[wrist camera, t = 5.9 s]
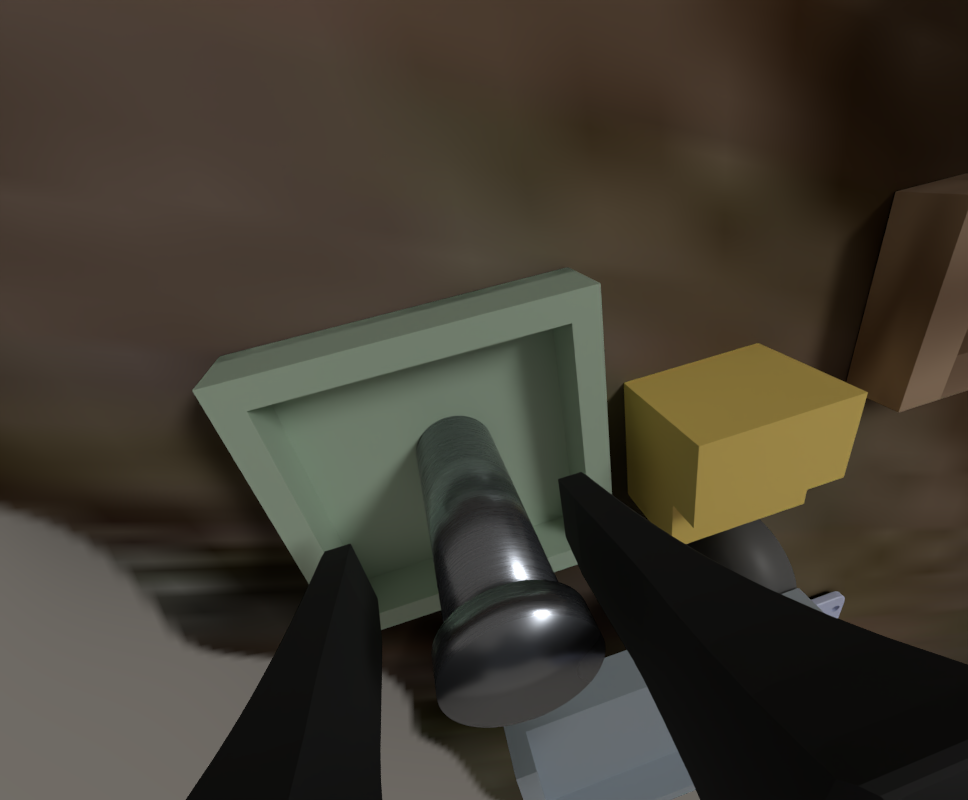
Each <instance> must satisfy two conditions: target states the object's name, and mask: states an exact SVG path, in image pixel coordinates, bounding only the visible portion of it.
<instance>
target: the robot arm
mask: <svg viewBox="0 0 968 800" xmlns="http://www.w3.org/2000/svg"><path fill="white" fill-rule="evenodd" d="M558 483H559V491H560V498H561V506H562V513H563V521H564V528H565V535H566V539H567V541H568V543H569V546H570V548H571V550H572V552H573V555H574V557H575V559H576V561H577V564H578V566H579V568H580V570H581V572H582V574H583V576H584V578H585V580H586V581H587V583H588V585H589V587H590V588H591V590H592V592H593V593H594V595H595V597H596V598H597V600H598V602H599V604H600V605H601V607H602V609H603V610H604V612H605V614H606V615H607V617H608V619H609V620H610V622H611V624H612V625H613V627H614V629H615V631H616V632H617V634H618V636H619V637H620V639H621V641H622V642H623V644H624V646H625V647H626V649H627V651H628V652H629V654H630V656H631V657H632V659H633V661H634V663H635V665H636V666H637V668H638V670H639V672H640V674H641V676H642V677H643V679H644V681H645V683H646V685H647V687H648V690H649V692H650V694H651V696H652V698H653V700H654V702H655V704H656V706H657V708H658V710H659V712H660V714H661V716H662V718H663V721H664V723H665V725H666V727H667V729H668V731H669V733H670V735H671V737H672V740H673V742H674V744H675V746H676V748H677V750H678V752H679V754H680V757H681V759H682V761H683V763H684V765H685V767H686V769H687V771H688V774H689V776H690V778H691V780H692V782H693V785H694V787H695V789H696V791H697V793H698V796H699V798H700V800H968V665H967V664H964V663H961V662H958V661H955V660H952V659H949V658H946V657H944V656H941V655H938V654H935V653H932V652H929V651H926V650H923V649H920V648H917V647H914V646H911V645H908V644H905V643H902V642H899V641H896V640H893V639H890V638H887V637H885V636H882V635H879V634H876V633H874V632H871V631H869V630H866V629H863V628H861V627H858V626H856V625H853V624H850V623H848V622H845V621H843V620H840V619H838V617H839V614H840V612H841V609H842V606H843V603H844V600H845V597H844V596H843V595H841V594H840V593H839V592H837V591H834V592H830V593H828V594H825V595H822V596H820V597H817V598H814V599H811V600H812V601H813V602H814V603H815V604H816V605H817V606H818V607H819V608H820V609H821V610H822V611H823V612H824V613H823V612H821V611H818V610H816V609H814V608H811V607H809V606H807V605H805V604H802V603H800V602H798V601H795V600H793V599H791V598H789V597H786V596H784V595H782V594H779V593H777V592H775V591H773V590H770V589H768V588H766V587H764V586H762V585H760V584H758V583H756V582H754V581H752V580H750V579H748V578H746V577H744V576H742V575H740V574H738V573H736V572H734V571H732V570H730V569H728V568H727V567H725V566H723V565H721V564H719V563H717V562H715V561H714V560H712V559H710V558H708V557H706V556H705V555H703V554H701V553H699V552H698V551H696V550H694V549H693V548H691V547H689V546H688V545H686V544H684V543H683V542H681V541H679V540H678V539H676V538H675V537H673V536H671V535H670V534H668V533H667V532H665V531H664V530H662V529H660V528H659V527H657V526H656V525H654V524H653V523H651V522H650V521H649V520H647V519H646V518H644V517H643V516H641V515H640V514H638V513H637V512H635V511H634V510H632V509H631V508H630V507H628V506H627V505H625V504H624V503H623V502H621V501H620V500H619V499H617V498H616V497H615V496H613V495H612V494H610V493H609V492H608V491H607V490H605V489H604V488H603V487H601V486H600V485H599V484H597V483H596V482H595V481H594V480H592V479H591V478H590V477H588V476H587V475H586V474H584V473H582V472H579V473H576V474H573V475H569V476H566V477H563V478H560V479H558ZM381 685H382V636H381V624H380V614H379V605H378V598H377V596H376V594H375V592H374V590H373V588H372V586H371V584H370V582H369V580H368V578H367V576H366V574H365V571H364V569H363V567H362V565H361V563H360V561H359V559H358V557H357V555H356V553H355V551H354V549H353V547H352V545H351V543H350V544H347V545H344V546H341V547H338V548H334V549H331V550H328V551H325V552H324V553H323V555H322V557H321V559H320V561H319V563H318V565H317V568H316V570H315V572H314V574H313V577H312V579H311V581H310V583H309V585H308V588H307V590H306V592H305V594H304V596H303V598H302V600H301V603H300V605H299V607H298V609H297V611H296V613H295V615H294V617H293V619H292V621H291V623H290V625H289V627H288V629H287V631H286V633H285V635H284V637H283V639H282V641H281V643H280V645H279V647H278V649H277V651H276V653H275V655H274V657H273V658H272V660H271V662H270V664H269V666H268V668H267V669H266V671H265V673H264V675H263V677H262V678H261V680H260V682H259V684H258V686H257V688H256V690H255V691H254V693H253V695H252V697H251V699H250V700H249V702H248V703H247V705H246V707H245V709H244V710H243V712H242V714H241V715H240V717H239V719H238V720H237V722H236V724H235V725H234V727H233V728H232V730H231V732H230V733H229V735H228V737H227V738H226V740H225V741H224V743H223V744H222V746H221V748H220V749H219V751H218V752H217V754H216V755H215V757H214V759H213V760H212V762H211V763H210V765H209V766H208V768H207V769H206V770H205V772H204V773H203V775H202V776H201V778H200V779H199V781H198V782H197V784H196V785H195V787H194V788H193V790H192V791H191V793H190V794H189V796H188V797H187V799H186V800H382V790H381V764H380V739H381V736H380V735H381V688H382V686H381Z"/></svg>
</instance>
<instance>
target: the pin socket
mask: <svg viewBox="0 0 968 800" xmlns="http://www.w3.org/2000/svg"><path fill="white" fill-rule="evenodd" d="M846 383H848V384H851V385H853V386H855V387H857V388H859V389H862V390H864V391H866V392H868V394H867V398H868V399H870V400H872V401H875V402H877V403H879V404H881V405H883V406H886V407H888V408H890V409H892V410H894V411H896V412H902V411H905V410H908V409H911V408H914V407H917V406H920V405H924V404H927V403H930V402H933V401H936V400H939V399H942V398H945V397H948V396H951V395H955V394H958V393H961V392H964V391H967V390H968V173H966V174H962V175H958V176H954V177H950V178H946V179H942V180H938V181H935V182H931V183H927V184H923V185H919V186H915V187H911V188H908V189H904V190H900V191H896V192H895V196H894V200H893V204H892V208H891V212H890V215H889V219H888V223H887V227H886V231H885V235H884V238H883V242H882V246H881V250H880V254H879V258H878V262H877V265H876V269H875V273H874V277H873V281H872V285H871V288H870V292H869V296H868V300H867V304H866V308H865V312H864V315H863V319H862V323H861V327H860V331H859V335H858V338H857V342H856V346H855V350H854V354H853V358H852V362H851V365H850V369H849V373H848V377H847V381H846Z"/></svg>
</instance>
